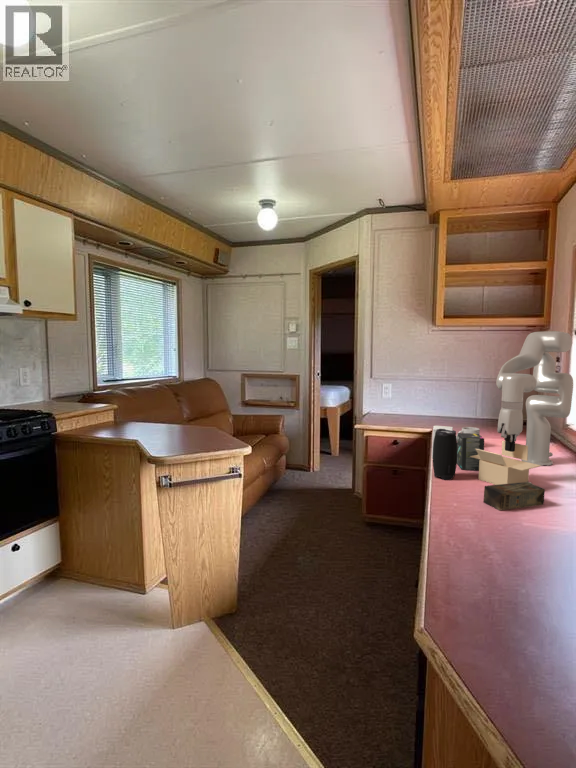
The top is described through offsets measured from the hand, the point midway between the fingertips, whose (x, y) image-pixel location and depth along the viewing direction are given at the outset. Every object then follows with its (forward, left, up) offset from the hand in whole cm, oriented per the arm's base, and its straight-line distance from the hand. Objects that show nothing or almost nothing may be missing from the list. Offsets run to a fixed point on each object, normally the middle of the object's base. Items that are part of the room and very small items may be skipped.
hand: (509, 450), depth 163 cm
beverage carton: (+23, +16, -12) cm, 31 cm away
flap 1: (+12, 0, -1) cm, 12 cm away
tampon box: (-1, -19, -12) cm, 23 cm away
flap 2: (-3, 0, 0) cm, 3 cm away
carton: (+4, 0, -12) cm, 12 cm away
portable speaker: (+20, -15, -12) cm, 28 cm away
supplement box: (-4, -36, -12) cm, 39 cm away
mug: (-35, -45, -12) cm, 59 cm away
